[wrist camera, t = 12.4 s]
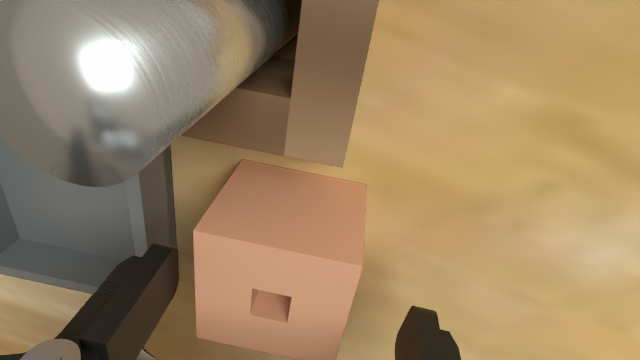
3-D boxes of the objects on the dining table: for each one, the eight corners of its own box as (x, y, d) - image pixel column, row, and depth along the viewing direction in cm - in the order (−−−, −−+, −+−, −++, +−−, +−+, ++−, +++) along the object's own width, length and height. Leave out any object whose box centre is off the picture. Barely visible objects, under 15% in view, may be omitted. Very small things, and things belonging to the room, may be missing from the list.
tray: (178, 271, 20) (154, 307, 18) (21, 237, 20) (-20, 269, 18) (166, 95, 15) (131, 117, 13) (-43, 53, 15) (-112, 68, 13)
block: (342, 275, 19) (332, 367, 14) (237, 252, 19) (196, 337, 14) (366, 184, 16) (363, 266, 11) (242, 159, 16) (193, 230, 12)
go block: (350, 119, 14) (342, 167, 11) (178, 85, 15) (117, 122, 11) (397, -102, 11) (407, -134, 7) (167, -143, 11) (72, -191, 8)
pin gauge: (299, 49, 13) (161, 202, 5) (240, 38, 13) (-1, 168, 5) (307, -19, 12) (145, 20, 4) (243, -31, 12) (-66, -20, 4)
